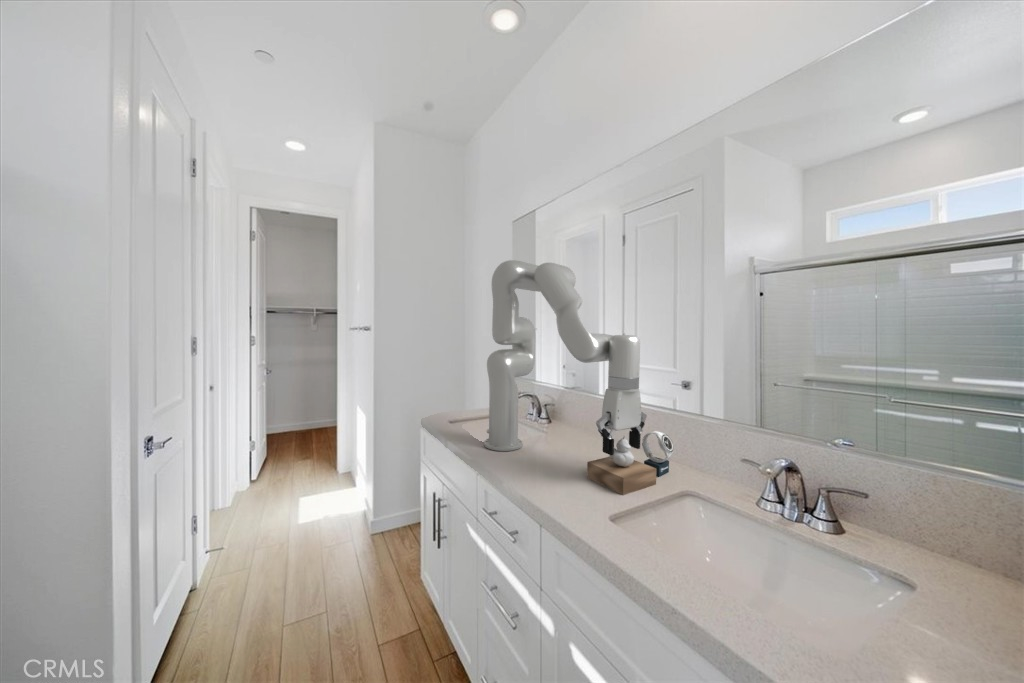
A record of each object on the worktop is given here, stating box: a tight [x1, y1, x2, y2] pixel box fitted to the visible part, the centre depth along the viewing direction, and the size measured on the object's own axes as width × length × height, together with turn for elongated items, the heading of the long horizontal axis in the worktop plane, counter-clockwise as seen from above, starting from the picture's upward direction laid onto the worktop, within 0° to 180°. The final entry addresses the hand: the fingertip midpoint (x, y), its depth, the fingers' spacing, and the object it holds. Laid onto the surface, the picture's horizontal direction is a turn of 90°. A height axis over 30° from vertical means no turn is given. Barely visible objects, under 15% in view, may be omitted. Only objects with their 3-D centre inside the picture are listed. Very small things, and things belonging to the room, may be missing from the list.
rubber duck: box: [608, 435, 635, 467], centre depth 93 cm, size 5×7×8 cm
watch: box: [641, 430, 675, 478], centre depth 99 cm, size 6×8×11 cm
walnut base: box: [586, 456, 657, 496], centre depth 93 cm, size 12×12×4 cm
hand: (621, 450), depth 93 cm, fingers open, 9 cm apart
